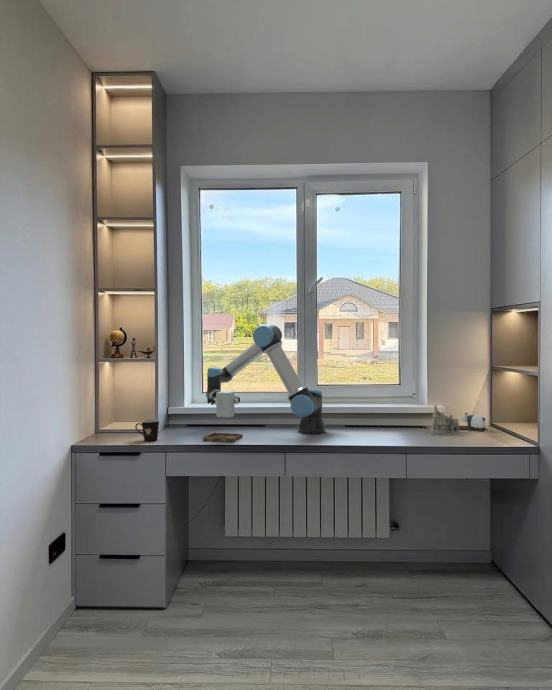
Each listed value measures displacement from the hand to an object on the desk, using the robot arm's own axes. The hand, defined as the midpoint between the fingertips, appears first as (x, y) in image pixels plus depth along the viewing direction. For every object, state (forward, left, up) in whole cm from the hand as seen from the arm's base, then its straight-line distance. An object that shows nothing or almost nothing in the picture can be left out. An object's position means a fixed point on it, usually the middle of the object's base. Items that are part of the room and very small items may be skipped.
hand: (227, 402), depth 266 cm
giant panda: (-121, -63, -20) cm, 138 cm away
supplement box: (+3, -4, -8) cm, 9 cm away
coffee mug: (+40, +9, -20) cm, 45 cm away
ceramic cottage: (-106, -50, -20) cm, 119 cm away
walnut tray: (+4, -3, -20) cm, 20 cm away
